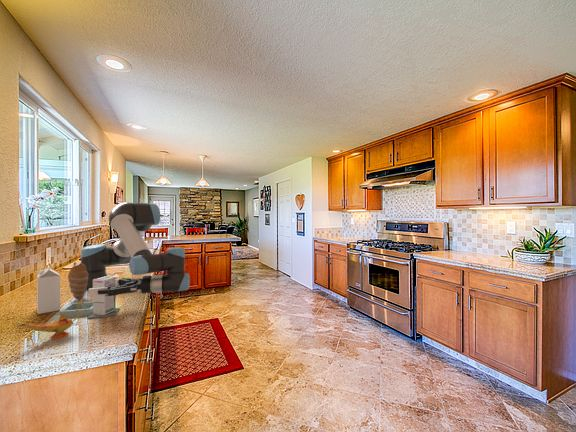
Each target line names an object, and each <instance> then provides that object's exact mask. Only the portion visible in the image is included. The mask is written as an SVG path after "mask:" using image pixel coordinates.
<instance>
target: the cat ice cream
mask: <svg viewBox="0 0 576 432" xmlns="http://www.w3.org/2000/svg"><path fill="white" fill-rule="evenodd" d="M67 275H68V276H67V279H68V282H69V285H68V286H69V290H70V292H71V294H72V296H73V298H74V299H75V300H82V299H83V298H84V297H85V294H86V291H87V290H86V287H87V284H88V283H87V282H88V272H87V271H86V266H85V265H84V264H83V263H81V262H80V263H77V262H76V261H73V265H72V266H71V268H70V270H69V272H68V274H67Z"/></svg>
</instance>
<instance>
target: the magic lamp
mask: <svg viewBox="0 0 576 432" xmlns="http://www.w3.org/2000/svg"><path fill="white" fill-rule="evenodd" d="M83 300H84V299H83V298H82V299H80V300H78V301H77V302H76V303H77V304H78V303H79V304H78V305H80V306H81V307H83V306H82V305H81V303H83V302H84V301H83ZM77 307H78V308H79V306H77ZM78 308H77V309H75V310H76V311H77V312H78V310H79V309H78ZM83 308H84V309H85V311H86V309H87V308H85V307H83ZM85 311H84V312H83V313H82V314H81V315H83V314H84V313H85ZM77 312H75V314H74V315H76V314H77ZM74 315H73V316H72V317H69V316H65V314H64V313H63V314H62V316H61V317H60V316H59V318H57V320H55V321H51V322H49V323H43V324H32V323H31V324H28V323H23V324H22V323H21V324H18V325H16V327H24V328H27V329H29V330H33V331H38V332H43V333H46V332H47V333H54V334H52V335H51V336H50V337H49V338H50V339H51V340H57V339H62V338H66V337H68V336H70V333H69V332H68V331H67V332H66V330H67V329H69V328H71V326H76V325H78V323H79V322H78V321H77V322H76V324H74V321H76V320H77V319H79V318H80V317H82V316H81V315H80V316H76V318H74ZM73 318H74V319H73ZM72 319H73V320H72Z"/></svg>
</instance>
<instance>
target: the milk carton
mask: <svg viewBox="0 0 576 432" xmlns="http://www.w3.org/2000/svg"><path fill="white" fill-rule="evenodd" d="M37 272H38V273H37V276H36V312H37V315H40V314H46V313H52V312H57V311H61V275H60V273H59V272H57V271H55V270H54V269H52V268H51V267H50V266H49V264H48V265H47V267H46V268H45V269H43V268H42V269H41V270H39V271H37Z"/></svg>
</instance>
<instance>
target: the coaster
mask: <svg viewBox="0 0 576 432" xmlns="http://www.w3.org/2000/svg"><path fill="white" fill-rule="evenodd" d="M120 309H121V308H120V307H116V310H115V311H113V312H110V313H108V314H106V315H97V314H93V313H92V314H91V315H87V317H86V318H87V319H88V320H89V319H99V318H100V319H101V318H113V317H115V315H116V314H117V313H118V312H119V310H120Z"/></svg>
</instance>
